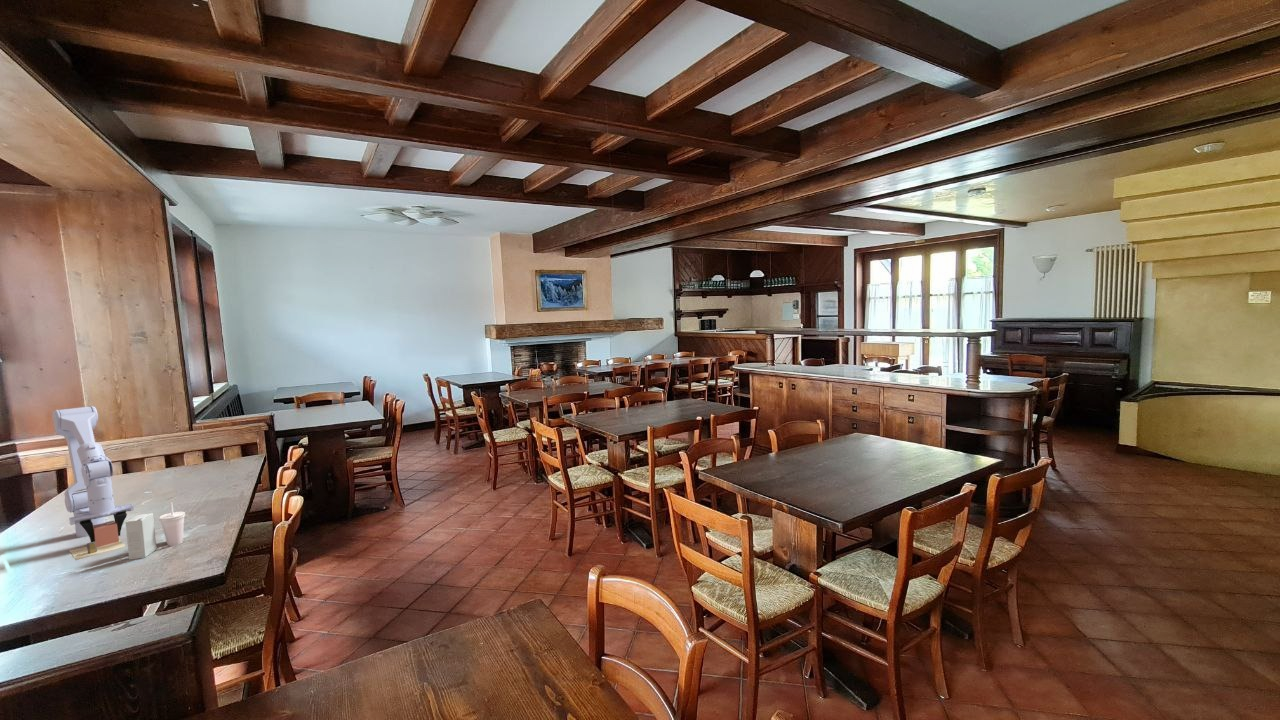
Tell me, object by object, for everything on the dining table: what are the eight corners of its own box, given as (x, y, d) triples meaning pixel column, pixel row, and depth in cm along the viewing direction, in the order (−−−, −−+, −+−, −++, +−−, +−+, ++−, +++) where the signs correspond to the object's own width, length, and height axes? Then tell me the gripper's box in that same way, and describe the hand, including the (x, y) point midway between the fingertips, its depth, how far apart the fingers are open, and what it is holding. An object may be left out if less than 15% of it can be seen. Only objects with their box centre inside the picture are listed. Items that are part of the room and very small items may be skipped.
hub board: (68, 552, 165) (67, 540, 165) (117, 539, 174) (115, 528, 174) (76, 562, 158) (74, 550, 157) (126, 548, 166) (125, 537, 166)
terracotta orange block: (93, 543, 169) (90, 525, 169) (115, 538, 173) (113, 520, 173) (96, 547, 166) (94, 528, 166) (119, 541, 170) (116, 523, 170)
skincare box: (140, 551, 164) (136, 514, 163) (158, 549, 165) (153, 512, 164) (128, 560, 158) (123, 521, 157) (146, 557, 159) (141, 519, 158)
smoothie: (164, 549, 165) (159, 506, 164) (159, 545, 169) (155, 503, 167) (190, 542, 170) (186, 500, 169) (185, 537, 174) (181, 497, 173)
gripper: (70, 507, 160) (75, 549, 161) (134, 493, 172) (139, 533, 173) (66, 503, 164) (71, 544, 166) (129, 489, 176) (133, 528, 177)
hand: (105, 538), depth 170 cm, fingers closed on terracotta orange block, 5 cm apart
